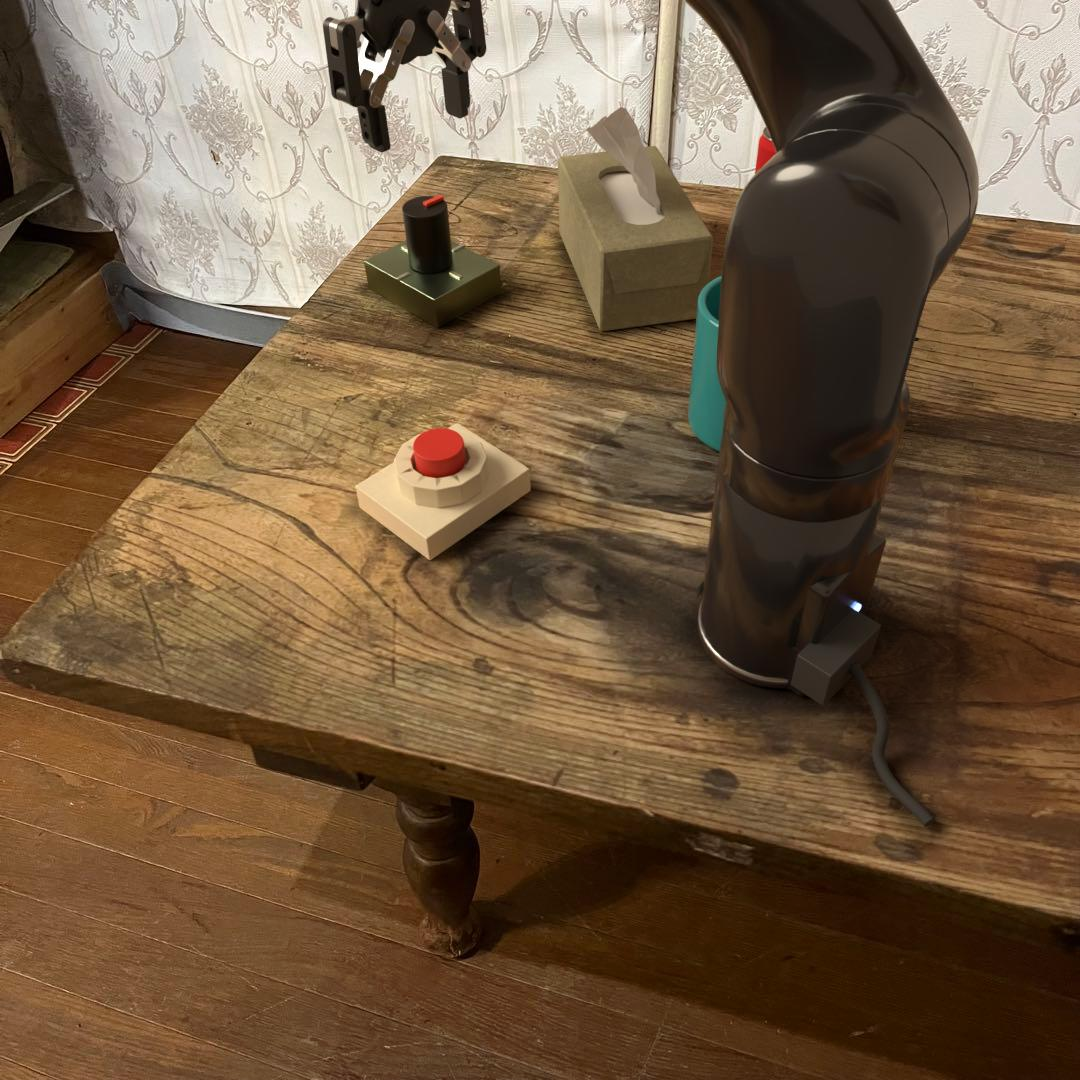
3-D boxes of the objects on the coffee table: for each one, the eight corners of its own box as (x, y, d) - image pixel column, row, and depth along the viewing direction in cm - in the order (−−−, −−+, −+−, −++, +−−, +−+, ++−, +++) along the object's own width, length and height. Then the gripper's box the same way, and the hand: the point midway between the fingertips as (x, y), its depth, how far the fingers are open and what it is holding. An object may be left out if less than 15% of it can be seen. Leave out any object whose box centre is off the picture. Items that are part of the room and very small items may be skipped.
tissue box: (558, 232, 105) (555, 71, 93) (652, 220, 106) (659, 60, 95) (601, 334, 91) (603, 162, 80) (707, 320, 93) (724, 148, 81)
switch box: (531, 490, 77) (529, 449, 74) (429, 561, 72) (423, 520, 70) (459, 444, 81) (455, 403, 79) (359, 507, 77) (350, 466, 74)
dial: (427, 278, 93) (419, 218, 89) (400, 262, 95) (392, 203, 91) (461, 262, 95) (456, 203, 91) (435, 246, 97) (428, 188, 93)
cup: (702, 491, 77) (715, 366, 69) (679, 393, 85) (689, 271, 77) (823, 484, 77) (851, 359, 69) (788, 387, 85) (810, 265, 77)
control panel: (502, 292, 97) (500, 262, 95) (436, 329, 93) (433, 298, 91) (432, 256, 102) (429, 226, 100) (367, 289, 98) (362, 259, 96)
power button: (476, 461, 74) (474, 442, 73) (438, 486, 73) (435, 467, 71) (443, 439, 76) (440, 421, 75) (405, 463, 74) (402, 444, 73)
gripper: (432, -116, 81) (453, 94, 92) (281, -74, 74) (323, 147, 85) (498, -101, 77) (511, 116, 88) (345, -55, 70) (380, 174, 81)
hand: (419, 131), depth 87 cm, fingers open, 8 cm apart
